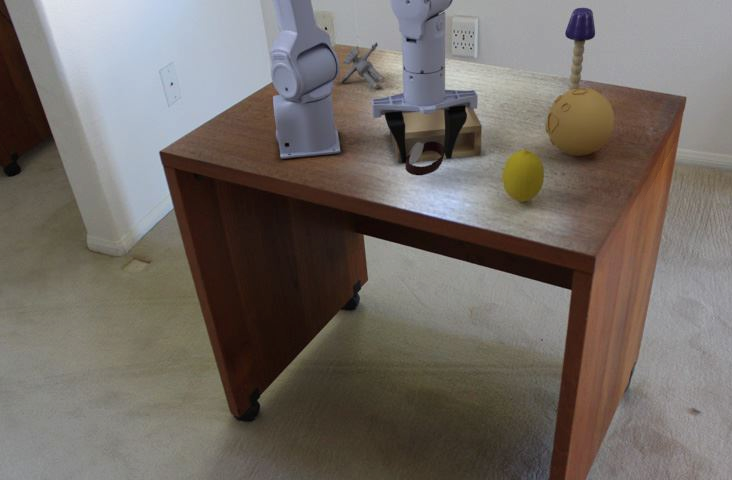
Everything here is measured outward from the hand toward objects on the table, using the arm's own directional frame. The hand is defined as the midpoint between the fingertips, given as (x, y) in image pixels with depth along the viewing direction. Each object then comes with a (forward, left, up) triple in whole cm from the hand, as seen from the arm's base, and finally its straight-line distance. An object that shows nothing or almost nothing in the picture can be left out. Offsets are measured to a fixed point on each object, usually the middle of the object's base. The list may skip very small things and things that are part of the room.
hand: (425, 157), depth 108 cm
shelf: (+3, +11, -4) cm, 12 cm away
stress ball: (+24, +4, -4) cm, 25 cm away
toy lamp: (+28, +19, -4) cm, 34 cm away
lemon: (+12, -9, -4) cm, 16 cm away
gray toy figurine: (-5, +40, -4) cm, 40 cm away
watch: (0, 0, -2) cm, 2 cm away
